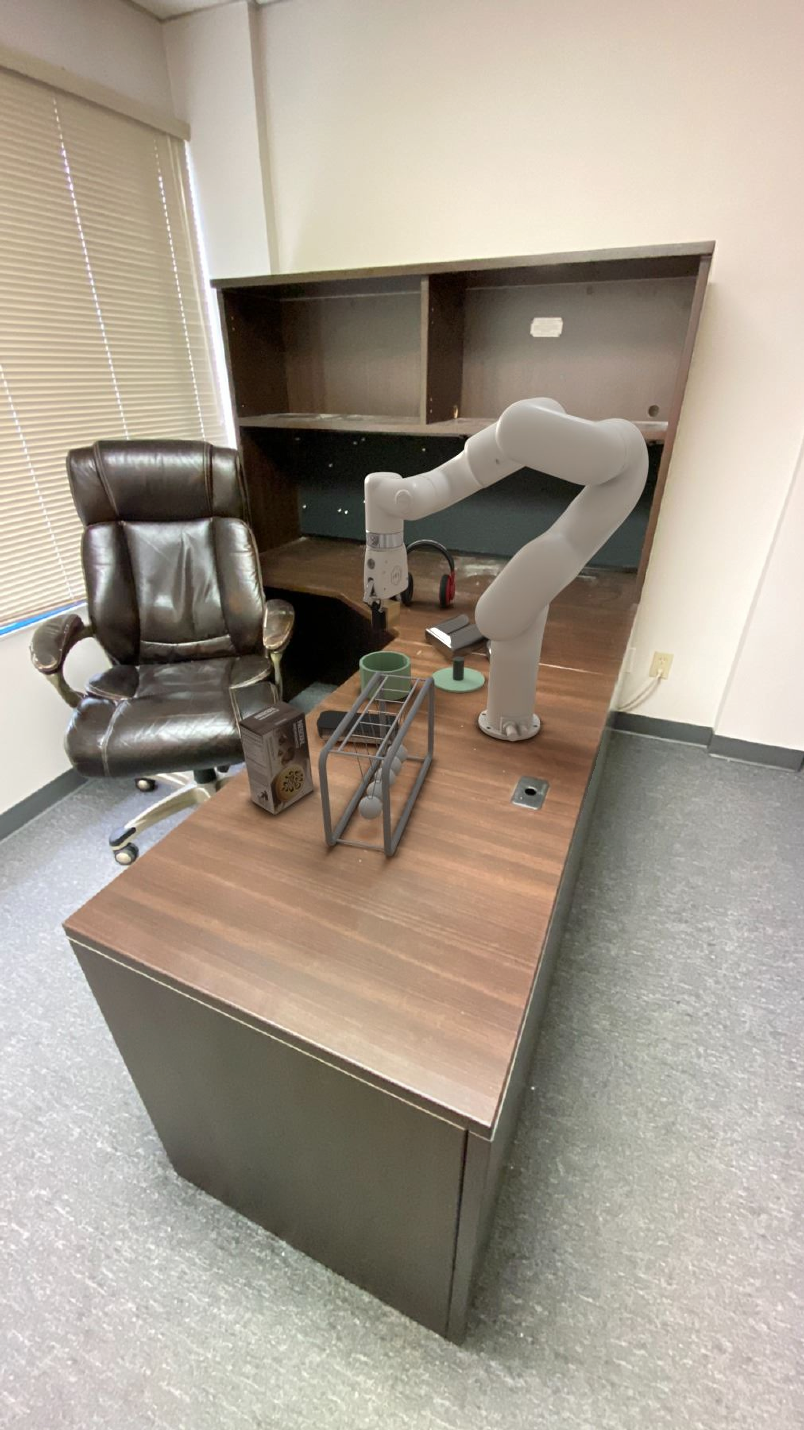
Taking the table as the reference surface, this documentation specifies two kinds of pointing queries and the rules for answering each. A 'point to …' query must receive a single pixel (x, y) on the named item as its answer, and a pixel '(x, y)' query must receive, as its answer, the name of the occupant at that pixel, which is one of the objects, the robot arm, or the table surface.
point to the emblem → (457, 637)
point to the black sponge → (332, 719)
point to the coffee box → (277, 756)
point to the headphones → (446, 581)
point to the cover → (458, 678)
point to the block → (391, 613)
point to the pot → (390, 666)
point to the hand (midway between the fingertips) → (385, 623)
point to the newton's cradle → (389, 765)
